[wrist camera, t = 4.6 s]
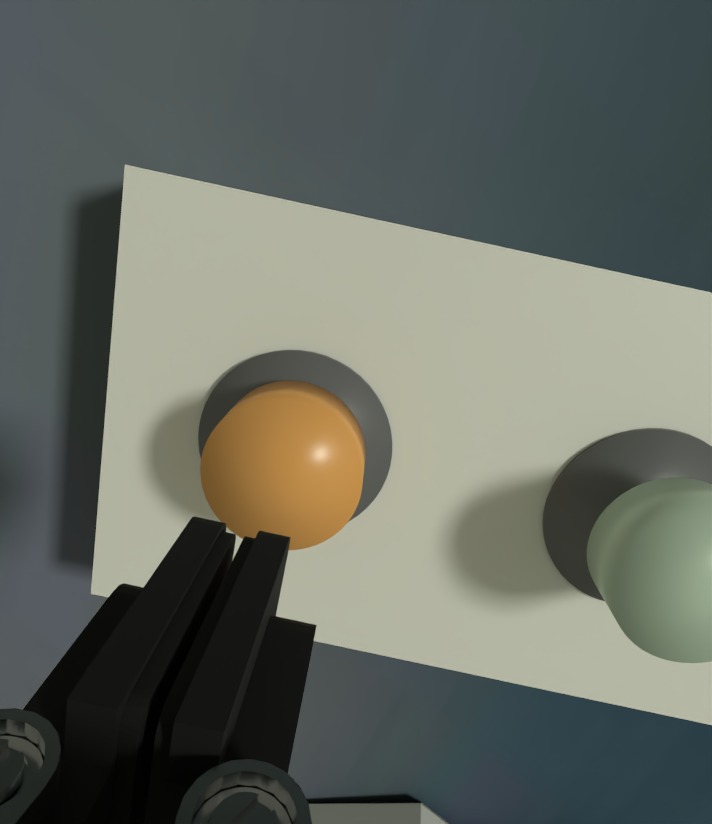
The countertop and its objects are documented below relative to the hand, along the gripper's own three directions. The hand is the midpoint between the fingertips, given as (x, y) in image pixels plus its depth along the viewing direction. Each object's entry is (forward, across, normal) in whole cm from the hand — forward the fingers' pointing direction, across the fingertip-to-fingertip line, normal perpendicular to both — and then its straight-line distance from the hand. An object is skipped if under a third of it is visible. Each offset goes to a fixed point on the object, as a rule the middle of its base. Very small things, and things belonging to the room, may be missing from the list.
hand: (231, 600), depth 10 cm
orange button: (+8, 0, +1) cm, 8 cm away
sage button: (+7, -11, +1) cm, 13 cm away
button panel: (+12, -11, +1) cm, 16 cm away
